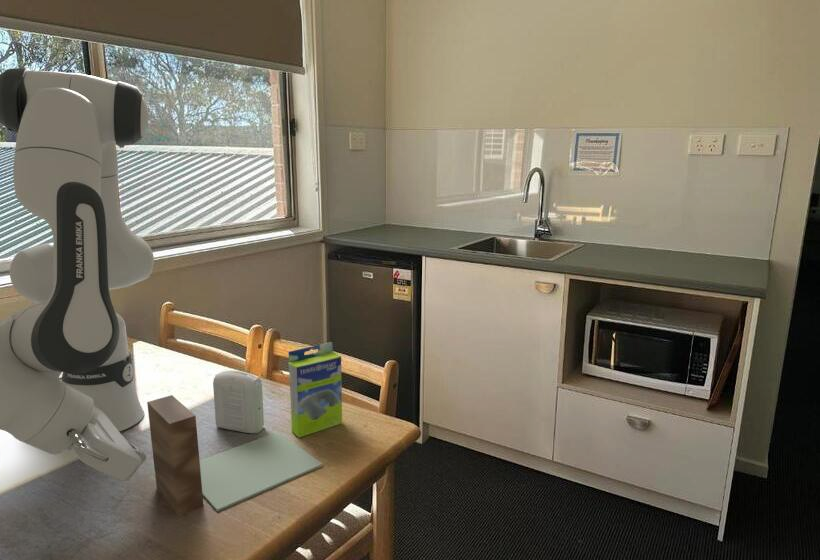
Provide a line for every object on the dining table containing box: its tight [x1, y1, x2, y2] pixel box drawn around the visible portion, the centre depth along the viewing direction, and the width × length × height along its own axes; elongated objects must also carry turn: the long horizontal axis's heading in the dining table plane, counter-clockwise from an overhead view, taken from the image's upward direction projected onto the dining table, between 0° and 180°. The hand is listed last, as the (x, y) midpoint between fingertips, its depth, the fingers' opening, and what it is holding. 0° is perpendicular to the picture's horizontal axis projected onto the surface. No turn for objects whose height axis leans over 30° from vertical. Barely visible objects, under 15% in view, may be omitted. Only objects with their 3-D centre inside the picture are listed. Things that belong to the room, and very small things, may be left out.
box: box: [287, 341, 343, 438], centre depth 116 cm, size 10×4×17 cm, turn 128°
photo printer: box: [212, 370, 265, 434], centre depth 116 cm, size 10×4×12 cm, turn 72°
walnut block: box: [146, 394, 204, 517], centre depth 92 cm, size 4×10×16 cm, turn 42°
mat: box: [199, 431, 323, 513], centre depth 102 cm, size 20×16×1 cm
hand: (140, 457), depth 89 cm, fingers closed
